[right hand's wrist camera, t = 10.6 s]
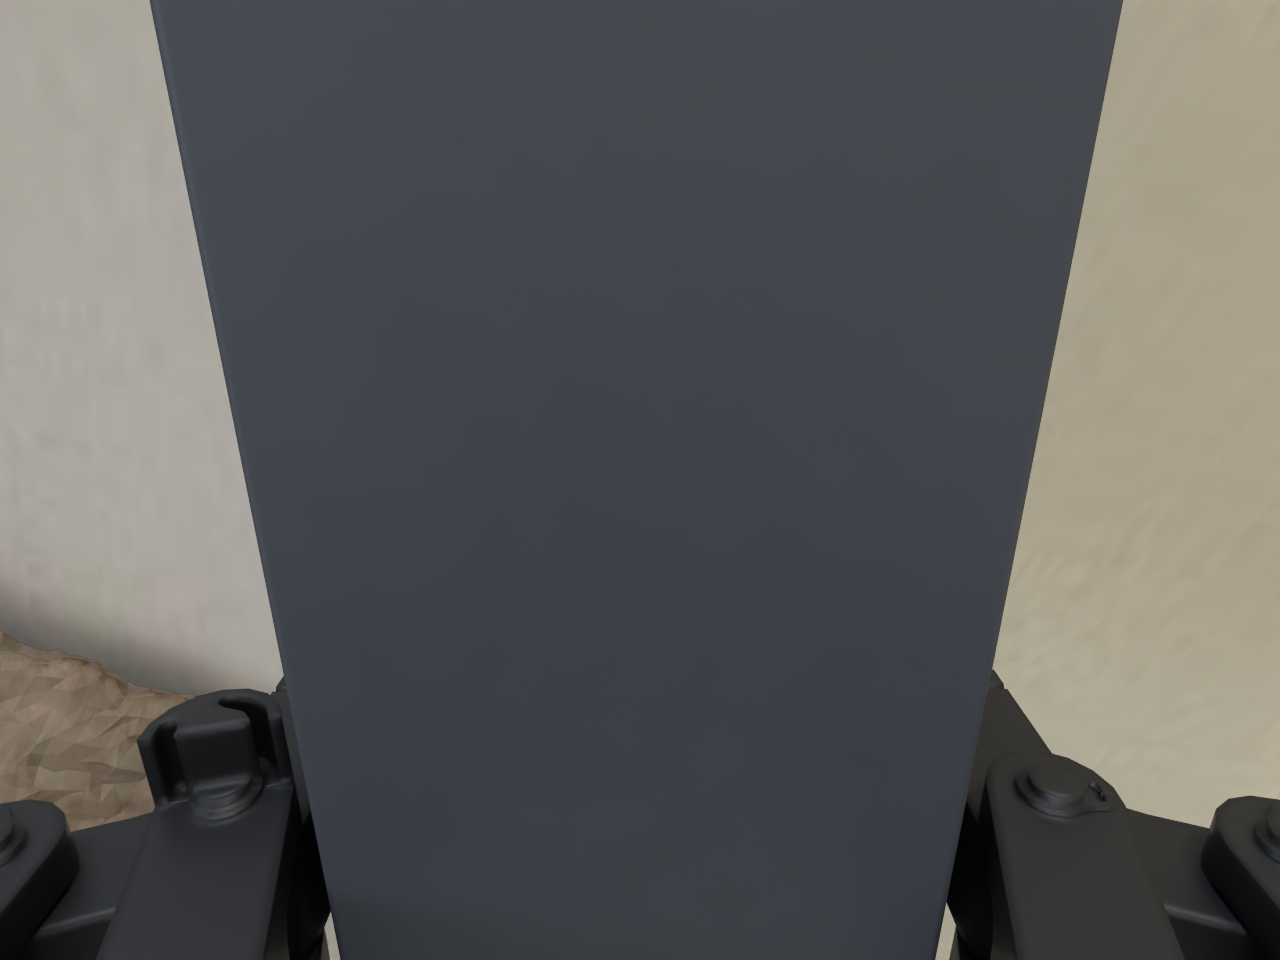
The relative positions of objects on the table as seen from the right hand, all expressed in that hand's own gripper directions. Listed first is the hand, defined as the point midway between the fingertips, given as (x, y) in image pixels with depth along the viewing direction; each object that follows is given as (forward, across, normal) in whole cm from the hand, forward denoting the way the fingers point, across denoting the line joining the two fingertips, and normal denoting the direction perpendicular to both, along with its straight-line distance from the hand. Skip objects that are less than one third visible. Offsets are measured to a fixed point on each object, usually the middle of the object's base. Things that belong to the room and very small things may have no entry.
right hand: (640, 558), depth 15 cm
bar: (+1, 0, -10) cm, 10 cm away
